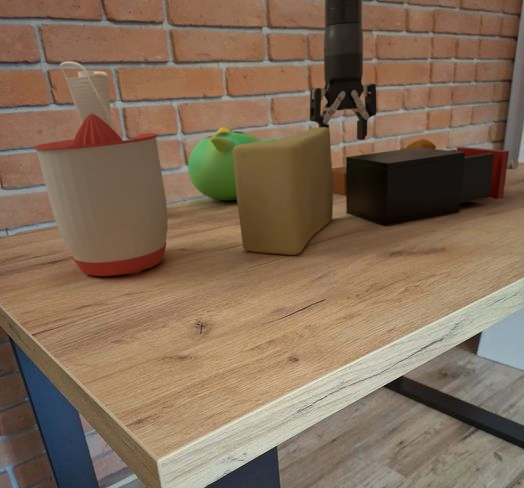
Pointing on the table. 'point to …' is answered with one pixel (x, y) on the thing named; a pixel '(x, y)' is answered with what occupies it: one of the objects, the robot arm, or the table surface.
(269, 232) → the cheese
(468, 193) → the drawer
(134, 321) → the table surface
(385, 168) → the cabinet
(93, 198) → the citrus juicer
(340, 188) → the brown block
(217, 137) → the toy bird
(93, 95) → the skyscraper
